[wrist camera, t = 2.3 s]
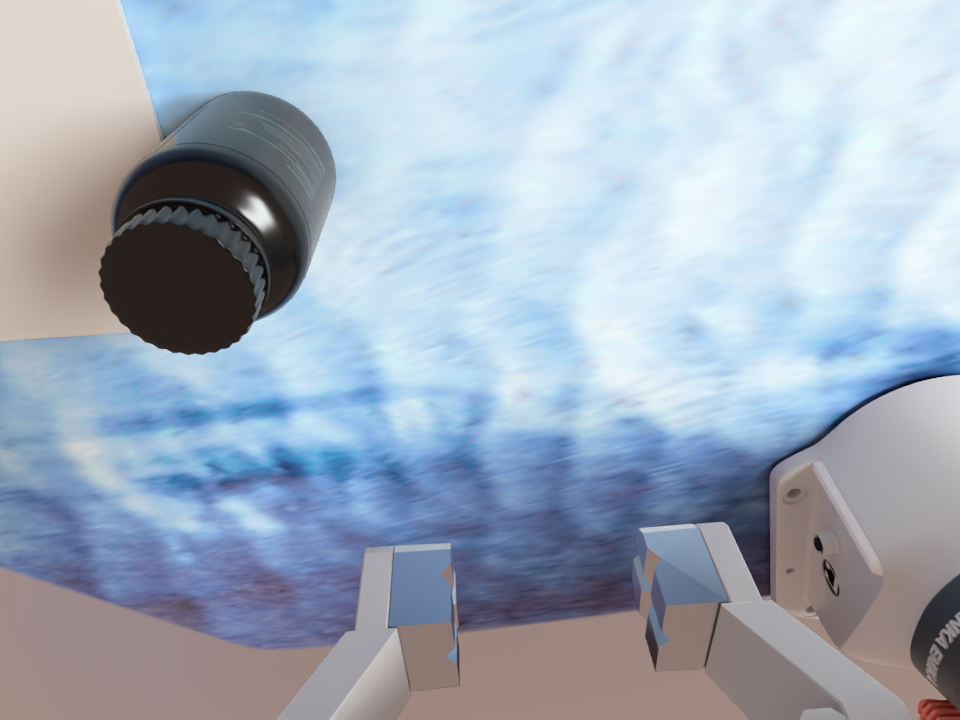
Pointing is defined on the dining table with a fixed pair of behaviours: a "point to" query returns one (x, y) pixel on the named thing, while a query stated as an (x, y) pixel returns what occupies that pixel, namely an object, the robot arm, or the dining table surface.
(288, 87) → the dining table surface
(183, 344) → the supplement bottle
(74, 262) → the mat
